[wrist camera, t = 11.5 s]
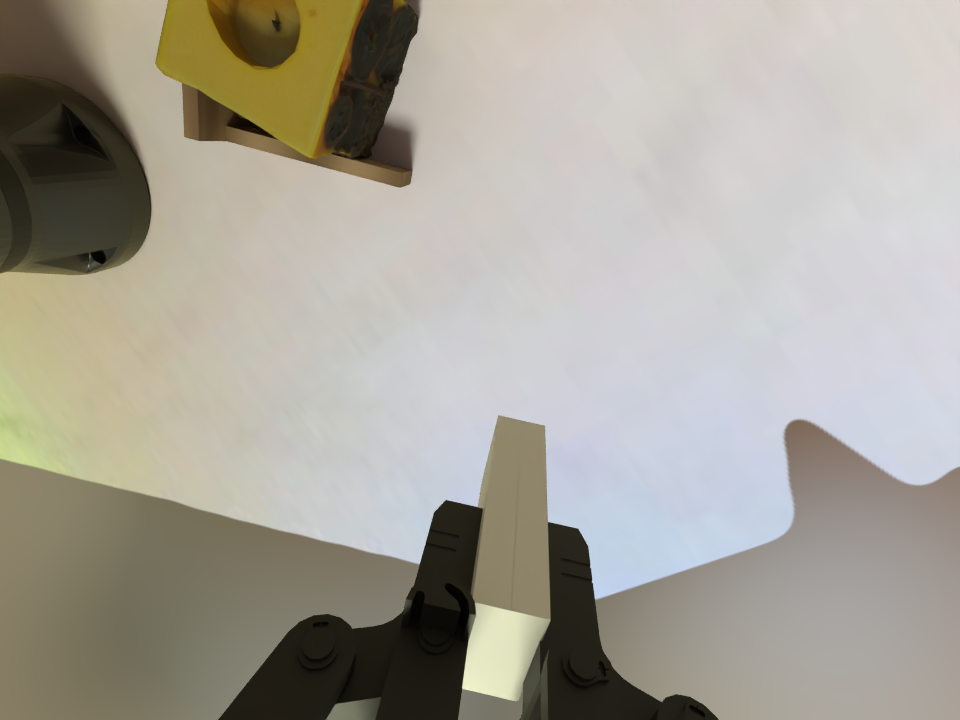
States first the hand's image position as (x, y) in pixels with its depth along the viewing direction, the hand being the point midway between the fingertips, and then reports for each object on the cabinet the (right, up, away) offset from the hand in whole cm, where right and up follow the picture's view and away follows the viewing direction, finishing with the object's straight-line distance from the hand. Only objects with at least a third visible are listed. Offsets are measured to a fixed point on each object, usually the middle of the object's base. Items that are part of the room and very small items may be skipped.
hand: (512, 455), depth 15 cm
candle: (-12, +25, +18) cm, 33 cm away
